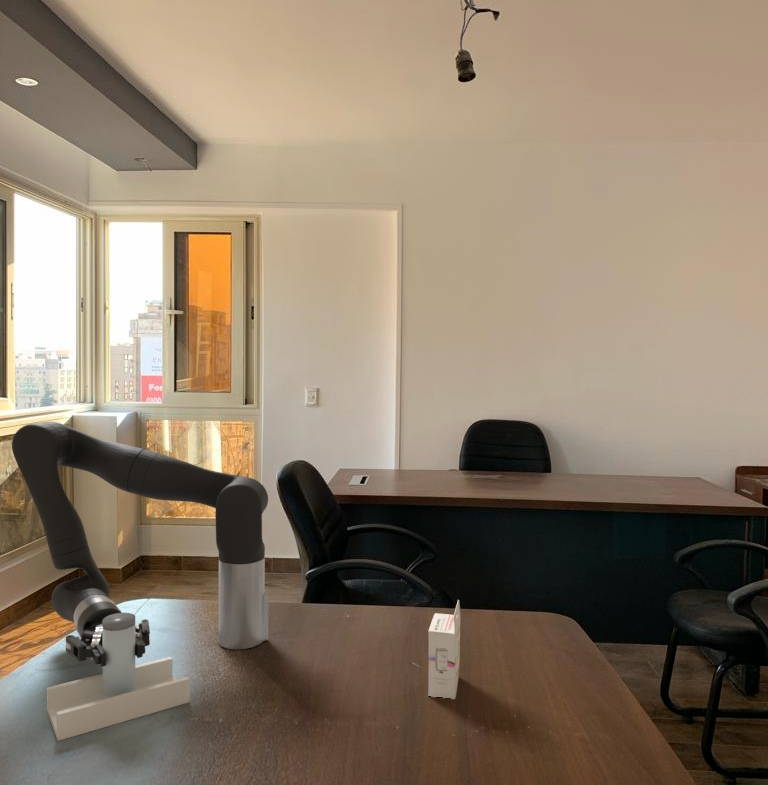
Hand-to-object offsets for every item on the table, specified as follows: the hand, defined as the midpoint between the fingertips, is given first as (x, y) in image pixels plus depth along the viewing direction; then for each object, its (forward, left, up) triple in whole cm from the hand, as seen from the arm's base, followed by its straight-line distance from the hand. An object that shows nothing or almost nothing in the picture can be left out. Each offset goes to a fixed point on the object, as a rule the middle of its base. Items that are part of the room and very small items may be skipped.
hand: (122, 655), depth 105 cm
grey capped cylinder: (0, -2, -6) cm, 7 cm away
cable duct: (0, -2, -9) cm, 10 cm away
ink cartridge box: (-49, +23, -10) cm, 55 cm away
